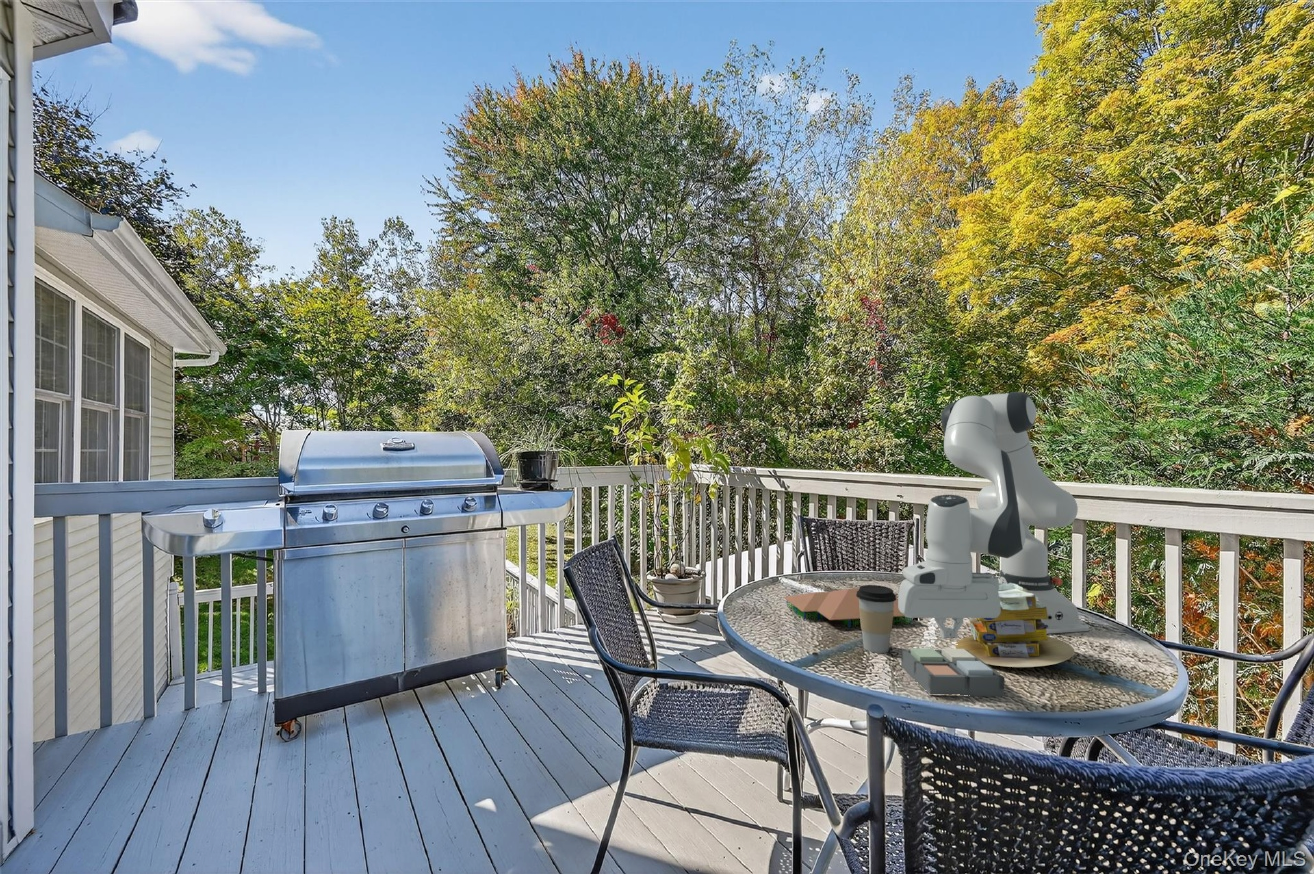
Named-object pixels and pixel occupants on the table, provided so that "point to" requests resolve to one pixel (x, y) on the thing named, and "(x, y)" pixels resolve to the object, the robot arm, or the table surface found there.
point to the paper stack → (1015, 633)
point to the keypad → (952, 677)
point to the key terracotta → (940, 670)
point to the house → (833, 605)
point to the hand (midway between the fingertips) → (948, 637)
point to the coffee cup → (876, 616)
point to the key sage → (926, 655)
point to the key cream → (957, 655)
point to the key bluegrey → (974, 668)
